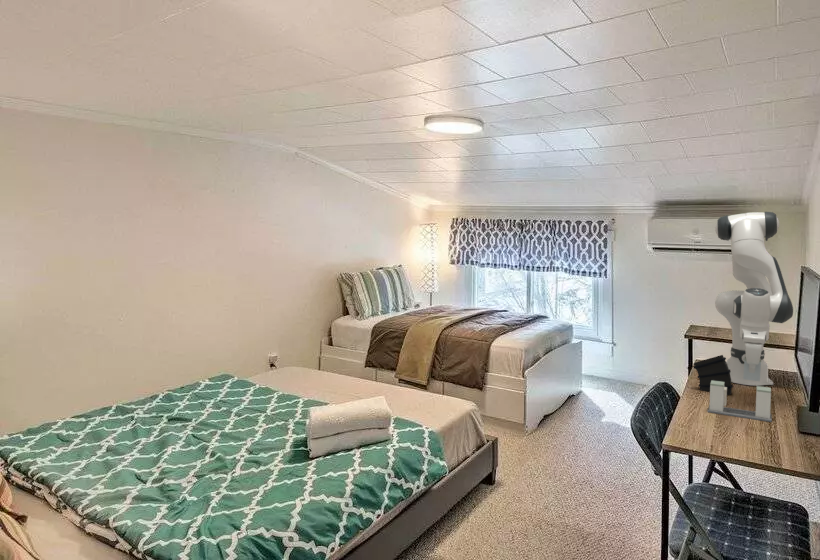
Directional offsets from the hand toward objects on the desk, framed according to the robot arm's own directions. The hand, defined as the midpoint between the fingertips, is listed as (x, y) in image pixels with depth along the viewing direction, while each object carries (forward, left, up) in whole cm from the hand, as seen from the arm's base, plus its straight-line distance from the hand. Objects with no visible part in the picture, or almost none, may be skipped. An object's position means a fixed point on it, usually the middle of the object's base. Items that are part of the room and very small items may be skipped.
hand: (751, 370), depth 188 cm
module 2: (0, 0, -3) cm, 3 cm away
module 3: (+15, +4, -13) cm, 20 cm away
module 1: (+15, -10, -13) cm, 22 cm away
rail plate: (+15, -3, -13) cm, 20 cm away
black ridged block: (-11, -13, -13) cm, 21 cm away
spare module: (+5, -10, -13) cm, 17 cm away
